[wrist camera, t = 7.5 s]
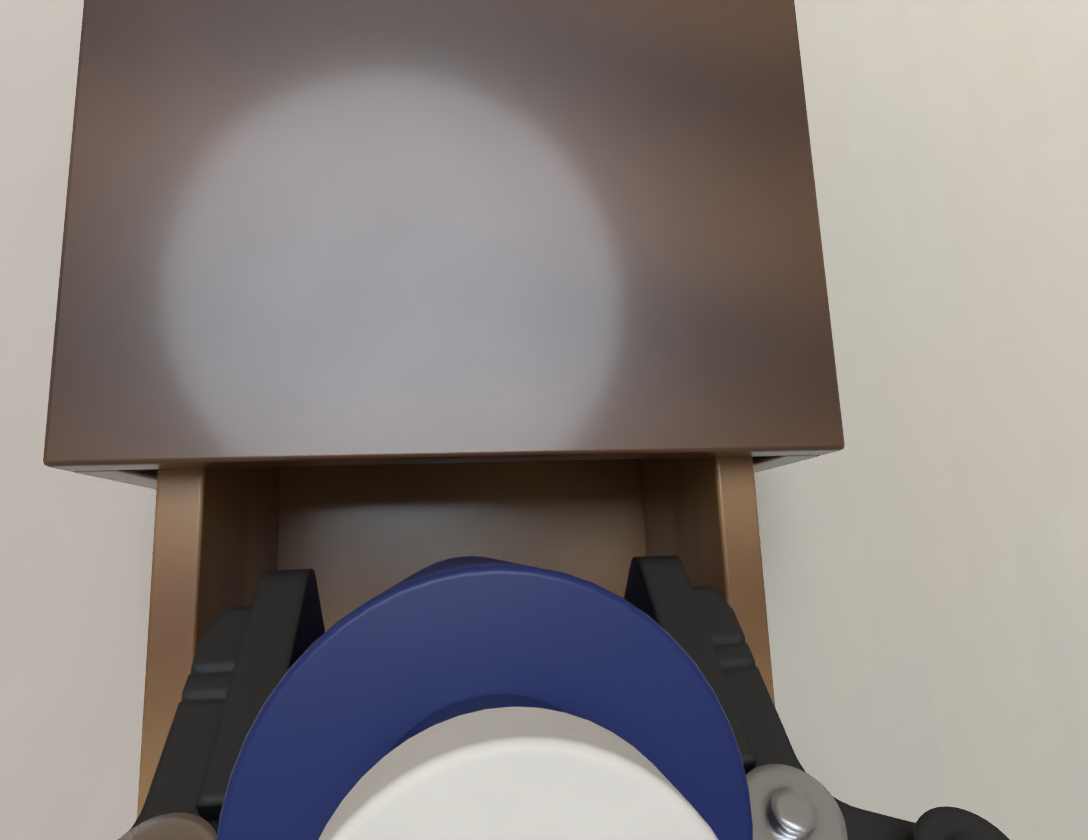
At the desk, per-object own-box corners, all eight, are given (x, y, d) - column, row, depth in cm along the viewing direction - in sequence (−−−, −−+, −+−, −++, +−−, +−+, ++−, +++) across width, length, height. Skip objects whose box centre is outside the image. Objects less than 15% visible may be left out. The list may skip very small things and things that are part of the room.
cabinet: (691, 489, 21) (847, 449, 13) (217, 502, 20) (39, 466, 11) (657, 30, 24) (767, -248, 16) (239, 5, 22) (110, -323, 14)
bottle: (538, 533, 18) (781, 485, 5) (590, 728, 18) (1044, 1315, 4) (347, 586, 18) (-15, 707, 4) (392, 792, 17) (143, 1798, 3)
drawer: (726, 1114, 18) (893, 1455, 11) (201, 1193, 16) (22, 1649, 9) (675, 392, 21) (779, 318, 14) (234, 396, 19) (119, 315, 13)
